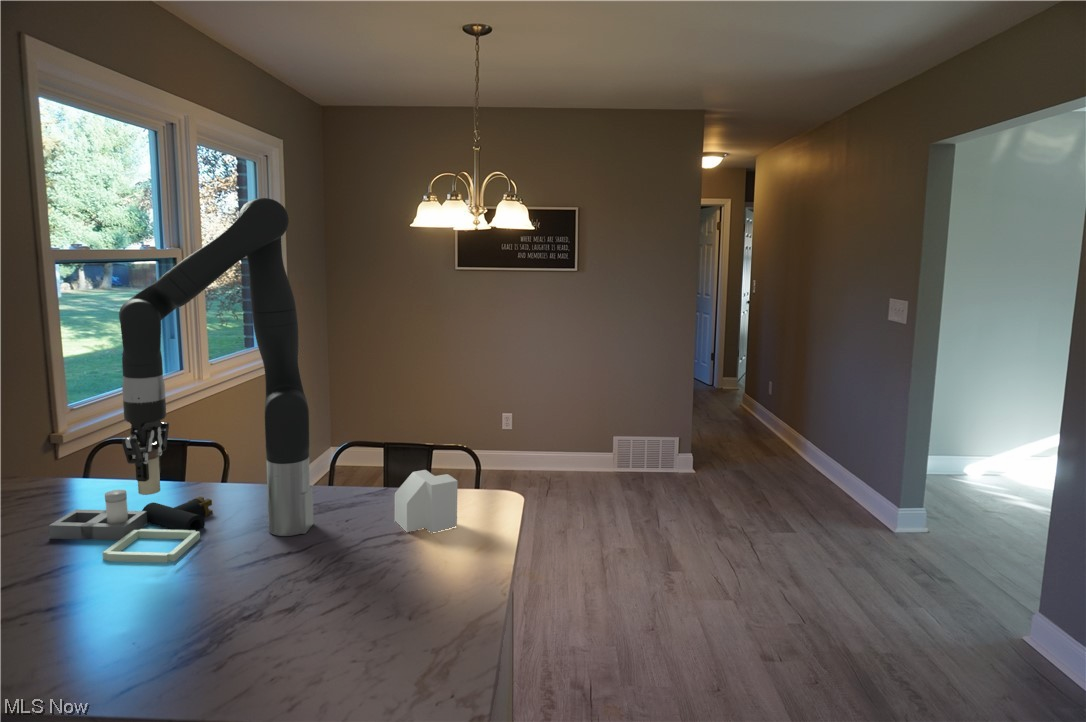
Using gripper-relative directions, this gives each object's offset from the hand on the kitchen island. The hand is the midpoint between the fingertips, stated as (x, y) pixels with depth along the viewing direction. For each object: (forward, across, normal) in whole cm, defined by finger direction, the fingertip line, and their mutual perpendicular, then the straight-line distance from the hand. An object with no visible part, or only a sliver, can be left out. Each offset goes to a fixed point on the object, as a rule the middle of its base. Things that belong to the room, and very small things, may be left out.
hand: (148, 476), depth 143 cm
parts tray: (+17, 0, 0) cm, 17 cm away
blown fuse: (+3, 0, 0) cm, 3 cm away
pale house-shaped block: (+17, +18, -55) cm, 60 cm away
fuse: (+16, +8, +12) cm, 21 cm away
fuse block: (+17, +8, +16) cm, 25 cm away
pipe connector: (+17, +15, +1) cm, 23 cm away
